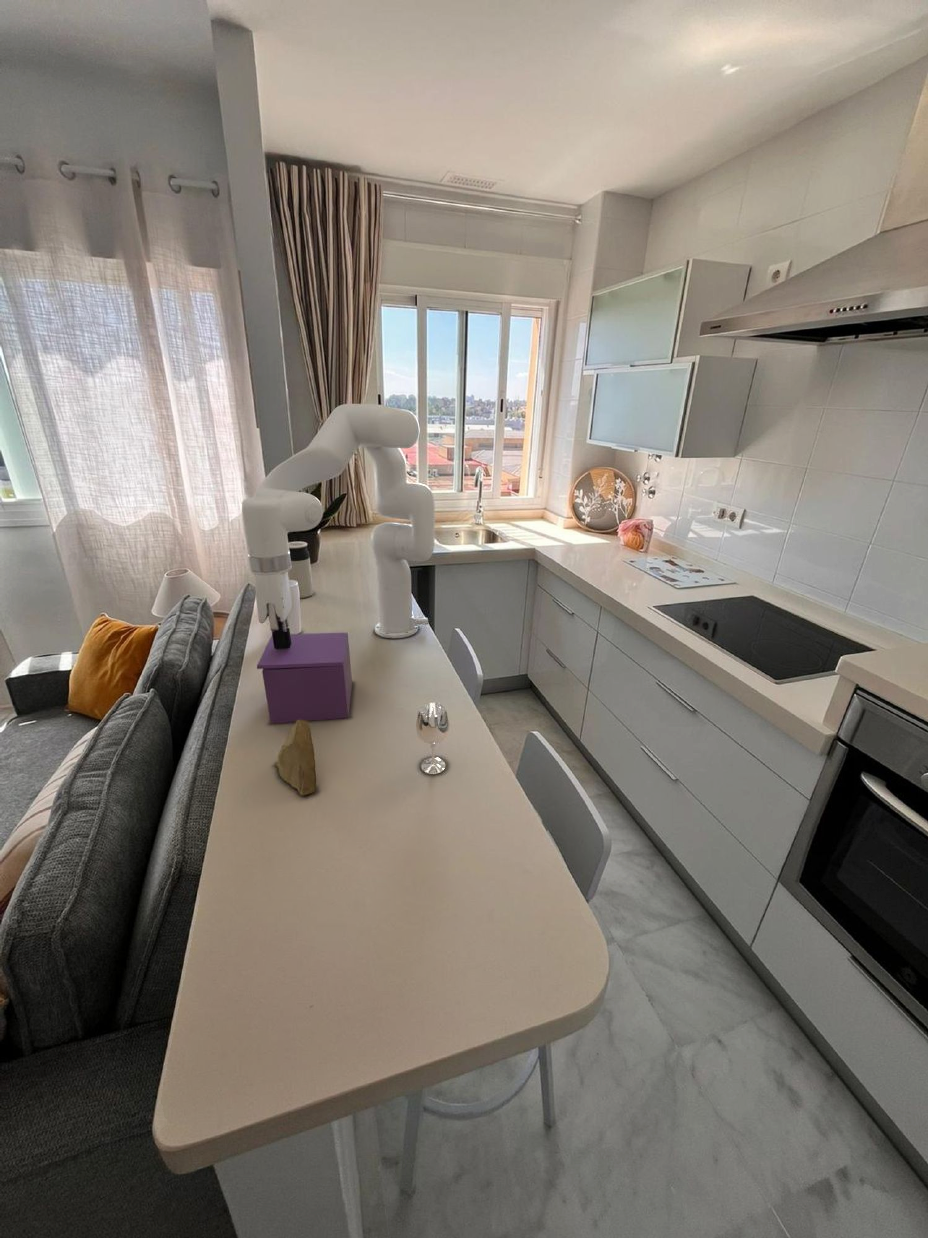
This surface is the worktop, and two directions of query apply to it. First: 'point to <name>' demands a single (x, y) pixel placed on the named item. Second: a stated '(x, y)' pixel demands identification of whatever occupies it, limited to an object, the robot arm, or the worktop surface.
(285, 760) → the rock
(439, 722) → the wineglass
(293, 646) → the lid
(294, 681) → the purple box
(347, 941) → the worktop surface
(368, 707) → the worktop surface
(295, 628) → the drinking glass
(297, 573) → the travel mug
